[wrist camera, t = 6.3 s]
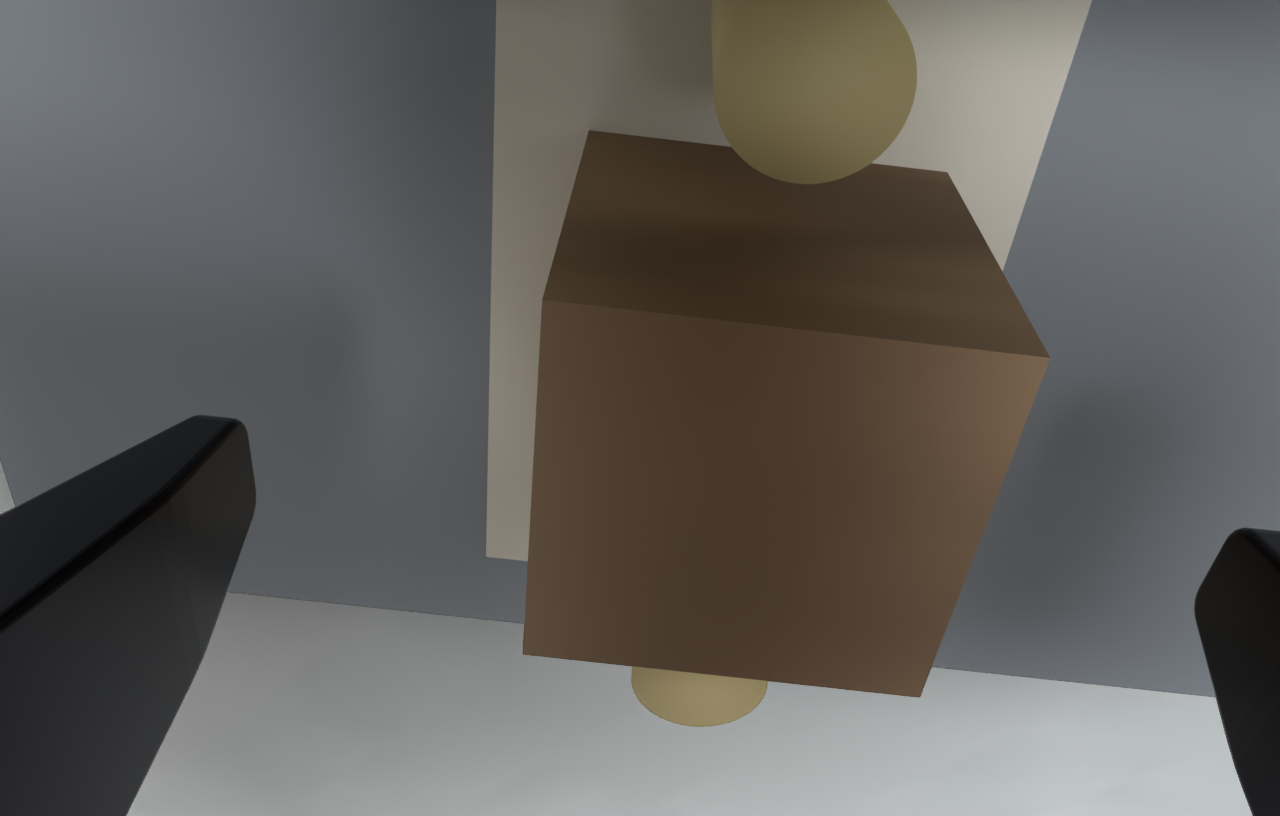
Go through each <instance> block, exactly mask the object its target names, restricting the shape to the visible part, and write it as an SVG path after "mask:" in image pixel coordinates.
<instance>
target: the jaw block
mask: <svg viewBox="0 0 1280 816" xmlns="http://www.w3.org/2000/svg"><path fill="white" fill-rule="evenodd" d="M1049 360H1050V356H1049V355H1048V353H1047V351H1046V349H1045V347H1044V346H1043V344H1042V342H1041V340H1040V338H1039V337H1038V335H1037V333H1036V331H1035V329H1034V328H1033V326H1032V324H1031V322H1030V320H1029V319H1028V317H1027V315H1026V313H1025V311H1024V309H1023V308H1022V306H1021V304H1020V302H1019V300H1018V299H1017V297H1016V295H1015V293H1014V291H1013V290H1012V288H1011V286H1010V284H1009V282H1008V281H1007V279H1006V277H1005V275H1004V273H1003V272H1002V270H1001V268H1000V266H999V264H998V262H997V261H996V259H995V257H994V255H993V253H992V252H991V250H990V248H989V246H988V244H987V243H986V241H985V239H984V237H983V235H982V234H981V232H980V230H979V228H978V226H977V225H976V223H975V221H974V219H973V217H972V216H971V214H970V212H969V210H968V208H967V206H966V205H965V203H964V201H963V199H962V197H961V196H960V194H959V192H958V190H957V188H956V187H955V185H954V183H953V181H952V179H951V178H950V176H949V174H948V172H942V171H933V170H925V169H916V168H908V167H899V166H891V165H882V164H874V163H870V164H869V165H867V166H866V167H864V168H863V169H861V170H859V171H858V172H855V173H853V174H851V175H849V176H847V177H844V178H841V179H838V180H835V181H830V182H825V183H819V184H795V183H789V182H784V181H781V180H777V179H774V178H771V177H769V176H767V175H765V174H763V173H761V172H759V171H758V170H756V169H754V168H753V167H751V166H750V165H749V164H748V163H746V162H745V161H744V160H743V159H742V158H741V157H740V156H739V155H738V154H737V153H736V152H735V151H734V149H733V148H732V147H729V146H720V145H712V144H703V143H694V142H686V141H677V140H669V139H660V138H652V137H643V136H635V135H626V134H618V133H609V132H601V131H592V130H589V132H588V135H587V139H586V142H585V146H584V150H583V153H582V157H581V161H580V164H579V168H578V171H577V175H576V179H575V182H574V186H573V190H572V193H571V197H570V200H569V204H568V208H567V211H566V215H565V219H564V222H563V226H562V229H561V233H560V237H559V240H558V244H557V248H556V251H555V255H554V258H553V262H552V266H551V269H550V273H549V277H548V280H547V284H546V287H545V291H544V295H543V298H542V311H541V329H540V347H539V365H538V384H537V402H536V420H535V439H534V457H533V475H532V493H531V512H530V530H529V548H528V567H527V585H526V603H525V621H524V640H523V654H524V655H533V656H542V657H551V658H561V659H570V660H579V661H588V662H597V663H607V664H616V665H625V666H634V667H644V668H653V669H662V670H671V671H680V672H690V673H699V674H708V675H717V676H726V677H736V678H745V679H754V680H763V681H772V682H782V683H791V684H800V685H809V686H818V687H828V688H837V689H846V690H855V691H864V692H874V693H883V694H892V695H901V696H910V697H920V696H921V693H922V691H923V688H924V686H925V683H926V680H927V678H928V675H929V673H930V670H931V667H932V665H933V662H934V660H935V657H936V654H937V652H938V649H939V647H940V644H941V641H942V639H943V636H944V634H945V631H946V628H947V626H948V623H949V620H950V618H951V615H952V613H953V610H954V607H955V605H956V602H957V600H958V597H959V594H960V592H961V589H962V587H963V584H964V581H965V579H966V576H967V574H968V571H969V568H970V566H971V563H972V561H973V558H974V555H975V553H976V550H977V548H978V545H979V542H980V540H981V537H982V535H983V532H984V529H985V527H986V524H987V522H988V519H989V516H990V514H991V511H992V509H993V506H994V503H995V501H996V498H997V496H998V493H999V490H1000V488H1001V485H1002V483H1003V480H1004V477H1005V475H1006V472H1007V469H1008V467H1009V464H1010V462H1011V459H1012V456H1013V454H1014V451H1015V449H1016V446H1017V443H1018V441H1019V438H1020V436H1021V433H1022V430H1023V428H1024V425H1025V423H1026V420H1027V417H1028V415H1029V412H1030V410H1031V407H1032V404H1033V402H1034V399H1035V397H1036V394H1037V391H1038V389H1039V386H1040V384H1041V381H1042V378H1043V376H1044V373H1045V371H1046V368H1047V365H1048V363H1049Z"/></svg>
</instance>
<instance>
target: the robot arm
mask: <svg viewBox="0 0 1280 816" xmlns="http://www.w3.org/2000/svg"><path fill="white" fill-rule="evenodd" d="M255 506H256V486H255V479H254V472H253V465H252V458H251V451H250V444H249V437H248V432H247V429H246V427H245V425H244V424H243V423H242V422H241V421H240V420H238V419H236V418H227V417H218V416H209V415H195V416H192V417H190V418H188V419H186V420H184V421H182V422H180V423H178V424H176V425H174V426H172V427H170V428H168V429H166V430H164V431H162V432H160V433H158V434H156V435H154V436H152V437H150V438H149V439H147V440H145V441H143V442H141V443H139V444H137V445H135V446H133V447H131V448H129V449H127V450H125V451H123V452H121V453H119V454H117V455H115V456H113V457H112V458H110V459H108V460H106V461H104V462H102V463H100V464H98V465H96V466H94V467H92V468H90V469H88V470H86V471H84V472H82V473H80V474H78V475H76V476H75V477H73V478H71V479H69V480H67V481H65V482H63V483H61V484H59V485H57V486H55V487H53V488H51V489H49V490H47V491H45V492H43V493H41V494H39V495H38V496H36V497H34V498H32V499H30V500H28V501H26V502H24V503H22V504H20V505H18V506H16V507H14V508H12V509H10V510H8V511H6V512H4V513H2V514H0V816H126V815H127V813H128V811H129V809H130V807H131V805H132V803H133V801H134V799H135V797H136V795H137V793H138V791H139V789H140V787H141V785H142V783H143V781H144V779H145V777H146V775H147V773H148V771H149V769H150V767H151V765H152V763H153V760H154V758H155V756H156V754H157V752H158V750H159V748H160V746H161V744H162V742H163V740H164V738H165V736H166V734H167V732H168V730H169V728H170V726H171V724H172V722H173V720H174V718H175V716H176V714H177V712H178V710H179V708H180V706H181V704H182V702H183V700H184V698H185V695H186V693H187V691H188V689H189V687H190V685H191V683H192V681H193V679H194V677H195V675H196V672H197V670H198V668H199V666H200V664H201V661H202V659H203V657H204V654H205V651H206V649H207V646H208V644H209V641H210V638H211V636H212V633H213V630H214V627H215V624H216V621H217V619H218V616H219V613H220V610H221V607H222V604H223V601H224V599H225V596H226V593H227V590H228V587H229V584H230V582H231V579H232V576H233V573H234V570H235V567H236V564H237V562H238V559H239V556H240V553H241V550H242V547H243V544H244V542H245V539H246V536H247V533H248V530H249V527H250V524H251V522H252V519H253V515H254V511H255ZM1194 612H1195V620H1196V624H1197V628H1198V631H1199V635H1200V639H1201V643H1202V647H1203V651H1204V654H1205V658H1206V662H1207V666H1208V670H1209V673H1210V677H1211V681H1212V685H1213V689H1214V692H1215V696H1216V700H1217V704H1218V708H1219V712H1220V715H1221V719H1222V723H1223V727H1224V731H1225V734H1226V738H1227V742H1228V745H1229V749H1230V752H1231V755H1232V759H1233V762H1234V765H1235V769H1236V771H1237V774H1238V777H1239V780H1240V783H1241V786H1242V789H1243V791H1244V794H1245V797H1246V799H1247V802H1248V805H1249V807H1250V810H1251V812H1252V815H1253V816H1280V531H1275V530H1266V529H1256V528H1247V527H1245V528H1240V529H1237V530H1235V531H1233V532H1232V533H1231V534H1230V535H1229V536H1228V537H1227V539H1226V540H1225V542H1224V544H1223V546H1222V547H1221V549H1220V551H1219V553H1218V555H1217V556H1216V558H1215V560H1214V562H1213V564H1212V565H1211V567H1210V569H1209V571H1208V573H1207V574H1206V576H1205V578H1204V580H1203V582H1202V583H1201V585H1200V587H1199V589H1198V591H1197V594H1196V598H1195V605H1194Z"/></svg>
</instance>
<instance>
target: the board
mask: <svg viewBox="0 0 1280 816" xmlns="http://www.w3.org/2000/svg"><path fill="white" fill-rule="evenodd" d="M589 130H592V131H601V132H609V133H618V134H626V135H635V136H643V137H652V138H660V139H669V140H677V141H686V142H694V143H703V144H712V145H720V146H729V147H732V148H733V149H734V151H735V152H736V153H737V154H738V155H739V156H740V157H741V158H742V159H743V160H744V161H745V162H746V163H748V164H749V165H750V166H751V167H753V168H754V169H756V170H758V171H759V172H761V173H763V174H765V175H767V176H769V177H771V178H774V179H777V180H781V181H784V182H789V183H795V184H819V183H825V182H830V181H835V180H838V179H841V178H844V177H847V176H849V175H851V174H853V173H855V172H858V171H859V170H861V169H863V168H864V167H866V166H867V165H869V164H870V163H874V164H882V165H891V166H899V167H908V168H916V169H925V170H933V171H942V172H948V174H949V176H950V178H951V179H952V181H953V183H954V185H955V187H956V188H957V190H958V192H959V194H960V196H961V197H962V199H963V201H964V203H965V205H966V206H967V208H968V210H969V212H970V214H971V216H972V217H973V219H974V221H975V223H976V225H977V226H978V228H979V230H980V232H981V234H982V235H983V237H984V239H985V241H986V243H987V244H988V246H989V248H990V250H991V252H992V253H993V255H994V257H995V259H996V261H997V262H998V264H999V266H1000V268H1001V270H1002V272H1003V273H1004V275H1005V277H1006V279H1007V281H1008V282H1009V284H1010V286H1011V288H1012V290H1013V291H1014V293H1015V295H1016V297H1017V299H1018V300H1019V302H1020V304H1021V306H1022V308H1023V309H1024V311H1025V313H1026V315H1027V317H1028V319H1029V320H1030V322H1031V324H1032V326H1033V328H1034V329H1035V331H1036V333H1037V335H1038V337H1039V338H1040V340H1041V342H1042V344H1043V346H1044V347H1045V349H1046V351H1047V353H1048V355H1049V356H1050V360H1049V363H1048V365H1047V368H1046V371H1045V373H1044V376H1043V378H1042V381H1041V384H1040V386H1039V389H1038V391H1037V394H1036V397H1035V399H1034V402H1033V404H1032V407H1031V410H1030V412H1029V415H1028V417H1027V420H1026V423H1025V425H1024V428H1023V430H1022V433H1021V436H1020V438H1019V441H1018V443H1017V446H1016V449H1015V451H1014V454H1013V456H1012V459H1011V462H1010V464H1009V467H1008V469H1007V472H1006V475H1005V477H1004V480H1003V483H1002V485H1001V488H1000V490H999V493H998V496H997V498H996V501H995V503H994V506H993V509H992V511H991V514H990V516H989V519H988V522H987V524H986V527H985V529H984V532H983V535H982V537H981V540H980V542H979V545H978V548H977V550H976V553H975V555H974V558H973V561H972V563H971V566H970V568H969V571H968V574H967V576H966V579H965V581H964V584H963V587H962V589H961V592H960V594H959V597H958V600H957V602H956V605H955V607H954V610H953V613H952V615H951V618H950V620H949V623H948V626H947V628H946V631H945V634H944V636H943V639H942V641H941V644H940V647H939V649H938V652H937V654H936V657H935V660H934V662H933V665H932V667H936V668H945V669H955V670H964V671H974V672H983V673H992V674H1002V675H1011V676H1021V677H1030V678H1039V679H1049V680H1058V681H1067V682H1077V683H1086V684H1096V685H1105V686H1114V687H1124V688H1133V689H1143V690H1152V691H1161V692H1171V693H1180V694H1190V695H1199V696H1208V697H1216V696H1215V692H1214V689H1213V685H1212V681H1211V677H1210V673H1209V670H1208V666H1207V662H1206V658H1205V654H1204V651H1203V647H1202V643H1201V639H1200V635H1199V631H1198V628H1197V624H1196V620H1195V612H1194V605H1195V598H1196V594H1197V591H1198V589H1199V587H1200V585H1201V583H1202V582H1203V580H1204V578H1205V576H1206V574H1207V573H1208V571H1209V569H1210V567H1211V565H1212V564H1213V562H1214V560H1215V558H1216V556H1217V555H1218V553H1219V551H1220V549H1221V547H1222V546H1223V544H1224V542H1225V540H1226V539H1227V537H1228V536H1229V535H1230V534H1231V533H1232V532H1233V531H1235V530H1237V529H1240V528H1245V527H1247V528H1256V529H1266V530H1275V531H1280V0H0V460H1V463H2V466H3V470H4V473H5V476H6V479H7V482H8V485H9V489H10V492H11V495H12V498H13V501H14V504H15V507H16V506H18V505H20V504H22V503H24V502H26V501H28V500H30V499H32V498H34V497H36V496H38V495H39V494H41V493H43V492H45V491H47V490H49V489H51V488H53V487H55V486H57V485H59V484H61V483H63V482H65V481H67V480H69V479H71V478H73V477H75V476H76V475H78V474H80V473H82V472H84V471H86V470H88V469H90V468H92V467H94V466H96V465H98V464H100V463H102V462H104V461H106V460H108V459H110V458H112V457H113V456H115V455H117V454H119V453H121V452H123V451H125V450H127V449H129V448H131V447H133V446H135V445H137V444H139V443H141V442H143V441H145V440H147V439H149V438H150V437H152V436H154V435H156V434H158V433H160V432H162V431H164V430H166V429H168V428H170V427H172V426H174V425H176V424H178V423H180V422H182V421H184V420H186V419H188V418H190V417H192V416H195V415H209V416H218V417H227V418H236V419H238V420H240V421H241V422H242V423H243V424H244V425H245V427H246V429H247V432H248V437H249V444H250V451H251V458H252V465H253V472H254V479H255V486H256V506H255V511H254V515H253V519H252V522H251V524H250V527H249V530H248V533H247V536H246V539H245V542H244V544H243V547H242V550H241V553H240V556H239V559H238V562H237V564H236V567H235V570H234V573H233V576H232V579H231V582H230V584H229V587H228V590H227V592H232V593H241V594H251V595H260V596H269V597H279V598H288V599H298V600H307V601H316V602H326V603H335V604H344V605H354V606H363V607H373V608H382V609H391V610H401V611H410V612H420V613H429V614H438V615H448V616H457V617H467V618H476V619H485V620H495V621H504V622H513V623H523V624H524V621H525V603H526V585H527V567H528V548H529V530H530V512H531V493H532V475H533V457H534V439H535V420H536V402H537V384H538V365H539V347H540V329H541V311H542V298H543V295H544V291H545V287H546V284H547V280H548V277H549V273H550V269H551V266H552V262H553V258H554V255H555V251H556V248H557V244H558V240H559V237H560V233H561V229H562V226H563V222H564V219H565V215H566V211H567V208H568V204H569V200H570V197H571V193H572V190H573V186H574V182H575V179H576V175H577V171H578V168H579V164H580V161H581V157H582V153H583V150H584V146H585V142H586V139H587V135H588V132H589ZM767 683H768V682H767V681H763V680H754V679H745V678H736V677H726V676H717V675H708V674H699V673H690V672H680V671H671V670H662V669H653V668H644V667H634V666H632V687H633V690H634V693H635V695H636V697H637V698H638V700H639V701H640V702H641V704H642V705H643V706H644V707H646V708H647V709H648V710H649V711H650V712H652V713H653V714H655V715H657V716H658V717H660V718H663V719H665V720H667V721H670V722H673V723H677V724H681V725H687V726H697V727H704V726H716V725H721V724H725V723H729V722H732V721H735V720H737V719H739V718H741V717H743V716H745V715H747V714H748V713H749V712H751V711H752V710H753V709H754V708H755V707H756V706H757V705H758V704H759V703H760V702H761V700H762V699H763V697H764V695H765V692H766V689H767Z"/></svg>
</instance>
